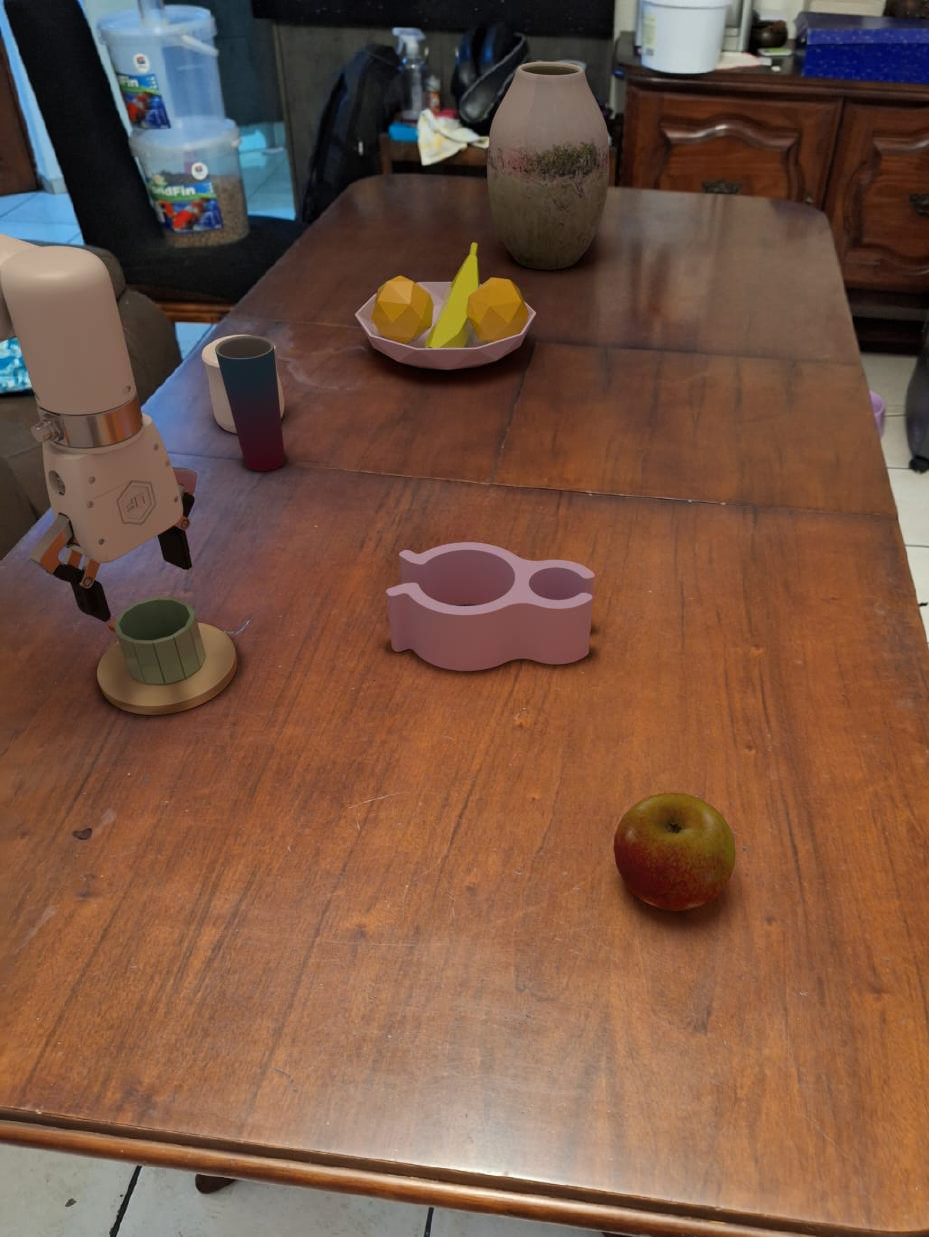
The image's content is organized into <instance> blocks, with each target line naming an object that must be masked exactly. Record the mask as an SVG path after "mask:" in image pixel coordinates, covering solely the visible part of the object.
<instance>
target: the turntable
mask: <svg viewBox="0 0 929 1237" xmlns="http://www.w3.org/2000/svg"><path fill="white" fill-rule="evenodd" d="M197 623H198V627H199V630H200V634H201V638H202V642H203V646H204V650H205V653H206V657H205V659H204V661H203V663H202V666H201V667H200V669H199V670H197V671H196V672H194V673H193V674H192V675H190V676H189V677H187V678H185V679H183V680H180V681H176V682H173V683H169V684H166V683H165V684H164V685H162V684H146V683H143V682H141V681H139V680H137V679H135V678H133V677H132V676H131V675H130V673H129V670H128V667H127V664H126V661H125V658H124V655H123V652H122V649H121V646H120V643H119V640H118V639H117V641H116V642H114V643H113V644H112V645H111V646H110V647H109V648H108V649H107V650H106V651H105V652H104V653H103V655H102V656H101V658H100V660H99V662H98V665H97V669H96V676H97V677H96V678H97V683H98V685H99V688H100V690H101V692H102V695H103V696H104V697H105V699H106V700H107V701H108V702H109V703H110V704H112V705H113V706H115V707H116V708H118V709H120V710H122V711H125V712H128V713H133V714H136V715H146V716H160V715H161V716H162V715H170V714H176V713H180V712H184V711H187V710H191V709H193V708H196V707H199V706H200V705H202V704H204V703H207V702H208V701H210V700H211V699H213V698H215V697H216V696H218V695H219V694H220V693H221V692H223V691H224V690H225V688H226V687H228V685H229V684H230V683H231V682H232V681H233V678H234V677H235V675H236V672H237V669H238V656H237V651H236V647H235V644H234V642H233V641H232V638H230V637H229V636H228V634H226V633H225V632H224V631H222V630H221V629H219V628H218V627H215V626H214V625H211V624H207V623H204V622H198V621H197Z"/></svg>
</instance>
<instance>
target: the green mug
mask: <svg viewBox="0 0 929 1237" xmlns="http://www.w3.org/2000/svg"><path fill="white" fill-rule="evenodd" d="M197 622H198V618H197V616H196V613H195V611H194V609H193V606H192V605H191V604H190V603H189V602H187V601H185V600H183V599H181V598H178V597H175V596H174V597H173V596H154V597H150V598H146V599H142V600H137V601H136V602H133V603H132V604H131V605H129V606H127V607H126V608H124V609H122V610H121V611H120V612H119V614H117V617H116V618H115V619H113V620H112V621H110V622H109V623H107V627H108V630H109V631H111V632H114V633H115V634H116V637H117V641H118V640H119V643H120V646H121V649H122V652H123V655H124V658H125V661H126V664H127V667H128V670H129V673H130V675H131V676H132V677H133V678H135V679H137V680H139V681H141V682H143V683H146V684H162V685H164V684H165V683H166V684H169V683H173V682H176V681H180V680H183V679H185V678H187V677H189V676H190V675H192V674H193V673H194V672H196V671H197V670H199V669H200V667H201V666H202V663H203V661H204V659H205V657H206V653H205V650H204V646H203V642H202V638H201V634H200V630H199V627H198V623H197Z"/></svg>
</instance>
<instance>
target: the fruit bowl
mask: <svg viewBox="0 0 929 1237" xmlns="http://www.w3.org/2000/svg"><path fill="white" fill-rule="evenodd" d="M478 249H479V244H478V243H477V242H474V241H473V242H472V243H471V244H470V249H469V254H468V255H467V257H466V258H465V259H464V261H463V263H462V265H461V266H460V267H459V269H458V271H457V273H456V275H455V276H454V278H453V280H452V281H418V282H415V281H413V280H411V279H409V278H407V277H404V276H403V275H400V274H399V275H398V276H396V277H394V278H392V279H390V280H387V281H386V282H384V283H383V284H382V285H380V286H379V287H378V288H377V291H376V293H374V294H373V295H372V296H371V297H370V298H369V299H368V300H367V301H366V302H365V304H363V305H362V306H361V307H360V308H359V309H358V310H357V311H356V312H355V313H354V316H355V317H356V319H357V321H358V323H359V324H360V326H361V328H362V330H363V332H364V333H365V336H366V337H367V339H368V340H369V343H370V344H371V346H372V348H373V349H375V350H376V351H379V352H380V353H382V354H384V355H385V356H387V357H388V358H390V359H392V360H395V361H396V362H398V363H401V364H405V365H409V366H412V367H415V368H419V369H429V370H430V369H431V370H445V371H448V370H449V371H451V370H461V369H472V368H478V367H481V366H484V365H487V364H488V365H489V364H490V363H494V362H497V361H498V360H500V359H502V358H503V357H505V356H507V355H508V354H510V353H512V352H514V350H517V349H518V348H521V346H522V343H523V341H524V339H525V338H526V336H527V333H528V331H529V329H530V327H531V325H532V323H533V321H534V319H535V317H536V315H537V312H536V310H534V309H533V308H532V307H531V306H530V305H529V304H528V303H527V302H526V301H525V300H524V297H523V295H522V292H521V289H520V288H519V287H518V286H517V285H516V284H515V283H514V282H513V281H512V280H511V279H508V278H500V277H494V276H493V277H490V278H489V279H487V280H486V281H485V282H484V283H480V270H479V269H480V268H479V258H478V256H477V255H478Z"/></svg>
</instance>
